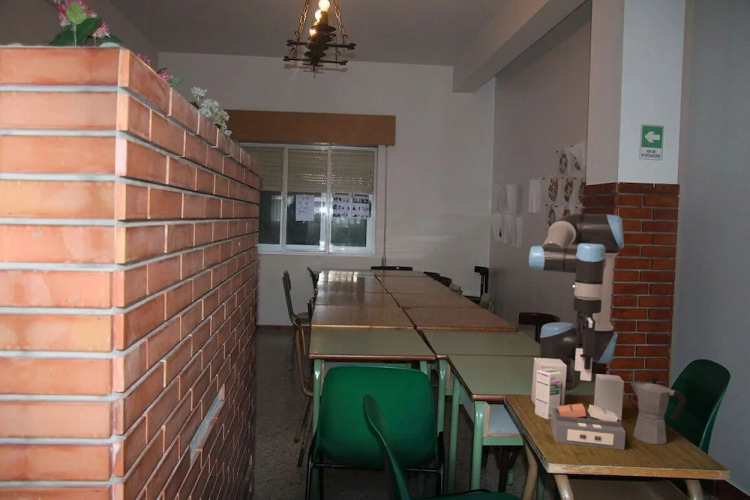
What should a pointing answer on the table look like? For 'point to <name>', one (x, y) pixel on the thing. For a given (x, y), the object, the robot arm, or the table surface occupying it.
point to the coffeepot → (654, 411)
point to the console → (587, 431)
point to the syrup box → (548, 391)
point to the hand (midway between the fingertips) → (582, 375)
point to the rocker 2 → (602, 413)
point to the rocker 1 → (572, 410)
